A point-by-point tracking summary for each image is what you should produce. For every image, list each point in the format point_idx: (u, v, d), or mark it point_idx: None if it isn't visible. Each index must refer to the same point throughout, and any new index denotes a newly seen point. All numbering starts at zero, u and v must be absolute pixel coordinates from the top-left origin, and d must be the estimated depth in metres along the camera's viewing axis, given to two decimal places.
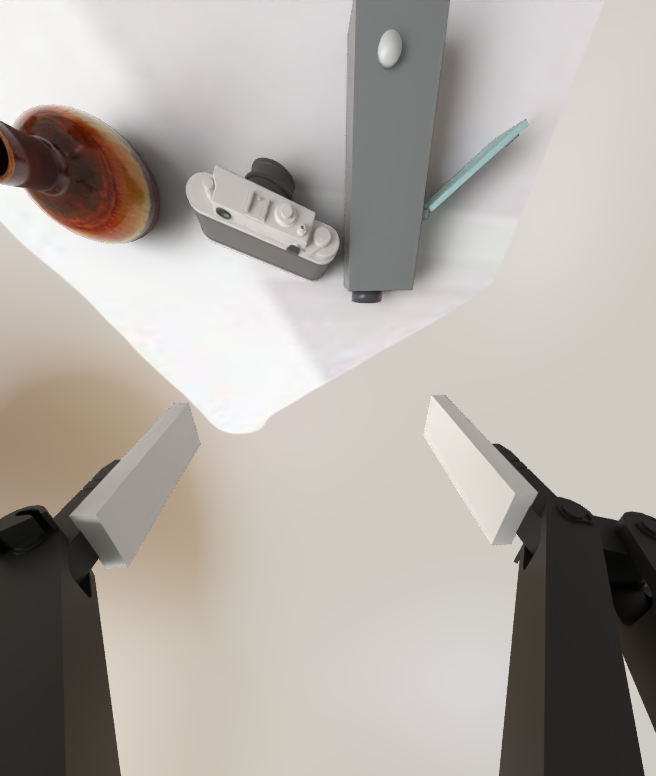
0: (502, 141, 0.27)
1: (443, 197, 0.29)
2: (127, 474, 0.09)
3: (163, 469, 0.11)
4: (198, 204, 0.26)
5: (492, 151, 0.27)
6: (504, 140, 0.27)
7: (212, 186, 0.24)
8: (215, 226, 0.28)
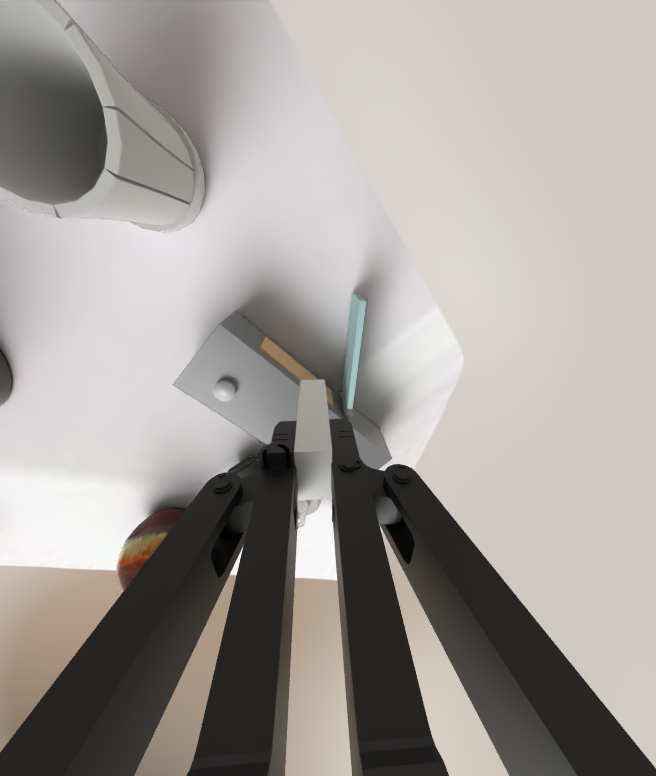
0: (357, 329, 0.25)
1: (351, 395, 0.28)
2: (312, 427, 0.11)
3: None
4: None
5: (356, 341, 0.25)
6: (358, 327, 0.25)
7: None
8: None
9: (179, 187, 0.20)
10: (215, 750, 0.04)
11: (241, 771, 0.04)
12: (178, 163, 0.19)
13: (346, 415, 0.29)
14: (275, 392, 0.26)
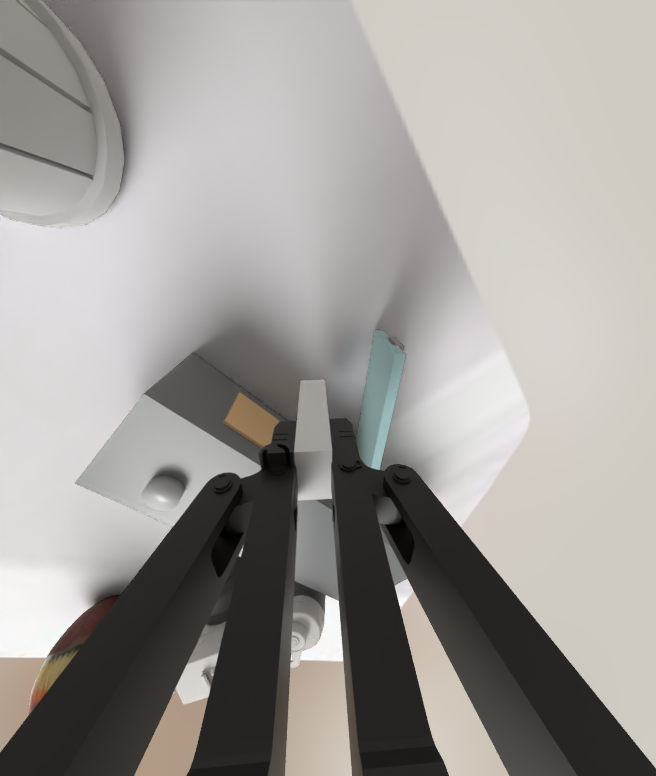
0: (387, 397, 0.15)
1: None
2: (312, 427, 0.11)
3: None
4: None
5: (384, 415, 0.15)
6: (389, 395, 0.15)
7: (174, 690, 0.21)
8: None
9: (43, 135, 0.10)
10: (215, 750, 0.04)
11: (241, 771, 0.04)
12: (29, 79, 0.09)
13: None
14: None
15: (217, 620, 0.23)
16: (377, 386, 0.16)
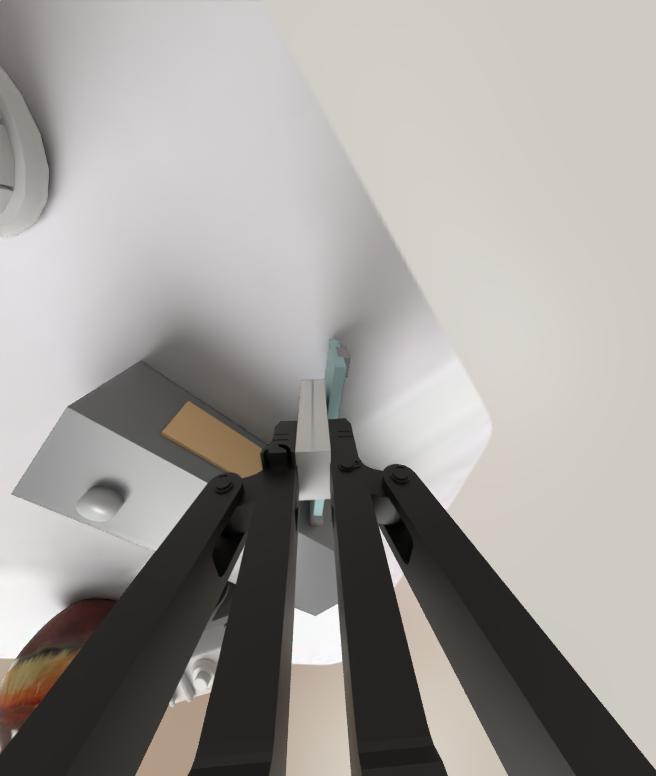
0: (330, 409, 0.14)
1: (320, 499, 0.18)
2: (313, 427, 0.11)
3: None
4: None
5: None
6: (331, 407, 0.14)
7: None
8: None
9: None
10: (216, 750, 0.04)
11: (242, 771, 0.04)
12: None
13: (312, 523, 0.19)
14: (190, 502, 0.16)
15: None
16: (326, 396, 0.16)
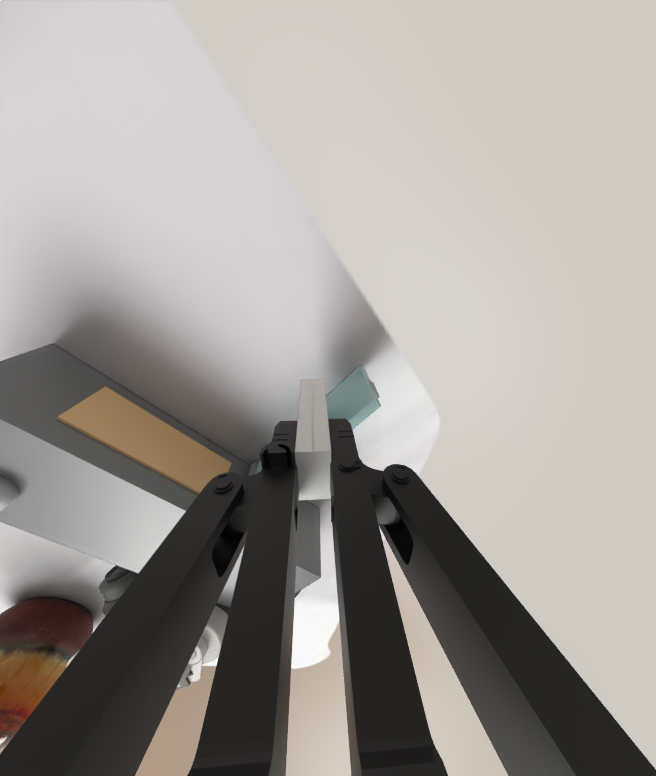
0: None
1: None
2: (312, 427, 0.11)
3: None
4: None
5: None
6: None
7: None
8: None
9: None
10: (216, 750, 0.04)
11: (242, 771, 0.04)
12: None
13: None
14: (92, 493, 0.15)
15: None
16: (334, 413, 0.16)
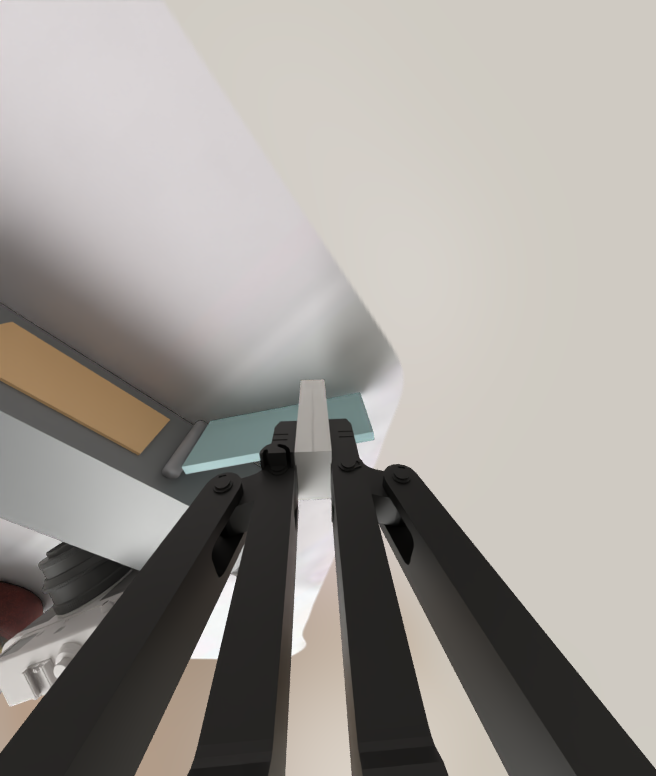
0: None
1: (210, 465, 0.15)
2: (312, 427, 0.11)
3: None
4: None
5: None
6: None
7: (0, 689, 0.18)
8: None
9: None
10: (215, 750, 0.04)
11: (241, 771, 0.04)
12: None
13: (167, 469, 0.15)
14: None
15: (63, 609, 0.20)
16: None
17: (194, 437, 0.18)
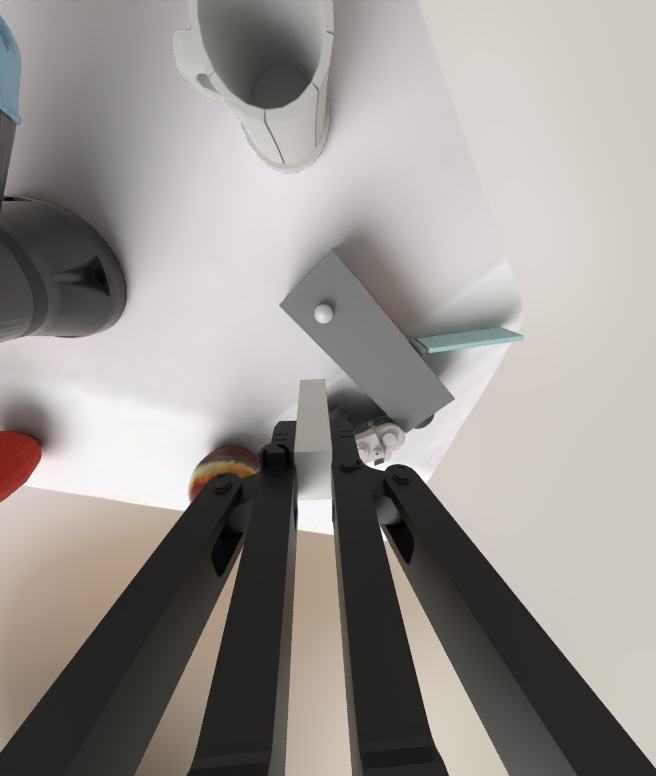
0: (501, 339, 0.32)
1: (442, 348, 0.32)
2: (312, 427, 0.11)
3: None
4: None
5: (491, 341, 0.32)
6: (503, 339, 0.32)
7: None
8: None
9: (320, 125, 0.24)
10: (215, 750, 0.04)
11: (241, 771, 0.04)
12: (325, 104, 0.23)
13: (421, 349, 0.32)
14: (365, 320, 0.30)
15: None
16: (490, 334, 0.33)
17: (417, 342, 0.35)
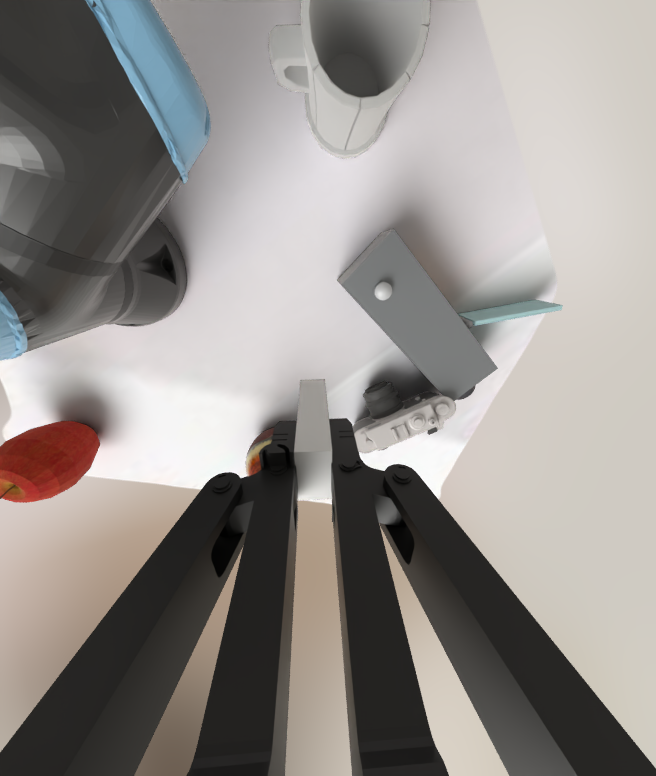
0: (542, 309, 0.34)
1: (487, 321, 0.35)
2: (312, 427, 0.11)
3: None
4: (366, 450, 0.40)
5: (533, 311, 0.34)
6: (543, 309, 0.34)
7: (372, 443, 0.38)
8: None
9: None
10: (215, 750, 0.04)
11: (241, 771, 0.04)
12: None
13: (468, 322, 0.35)
14: (419, 296, 0.32)
15: (389, 412, 0.39)
16: (530, 306, 0.36)
17: (460, 317, 0.37)
